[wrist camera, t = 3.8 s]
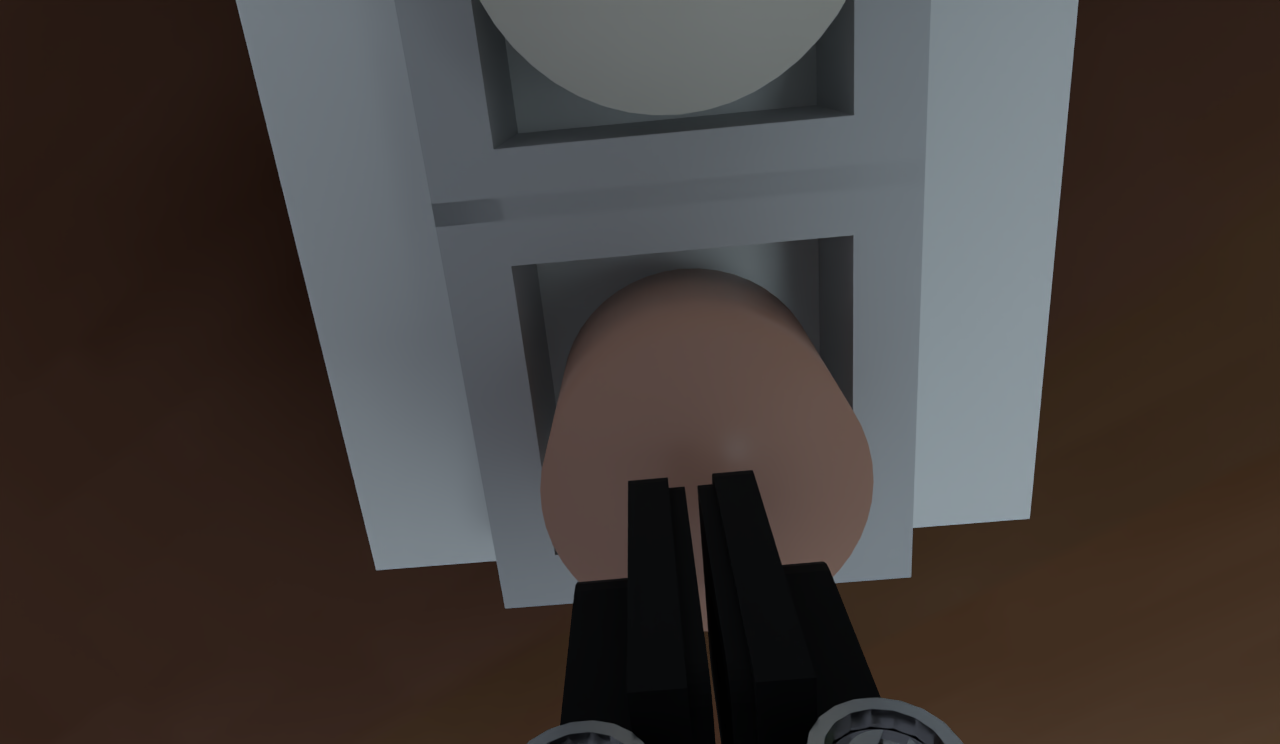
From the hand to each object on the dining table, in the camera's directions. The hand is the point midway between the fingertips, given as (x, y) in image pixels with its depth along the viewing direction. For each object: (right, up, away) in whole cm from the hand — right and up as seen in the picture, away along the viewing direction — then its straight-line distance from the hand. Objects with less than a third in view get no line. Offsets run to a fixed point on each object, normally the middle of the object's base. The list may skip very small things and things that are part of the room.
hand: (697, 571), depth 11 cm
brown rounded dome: (0, +2, +5) cm, 6 cm away
